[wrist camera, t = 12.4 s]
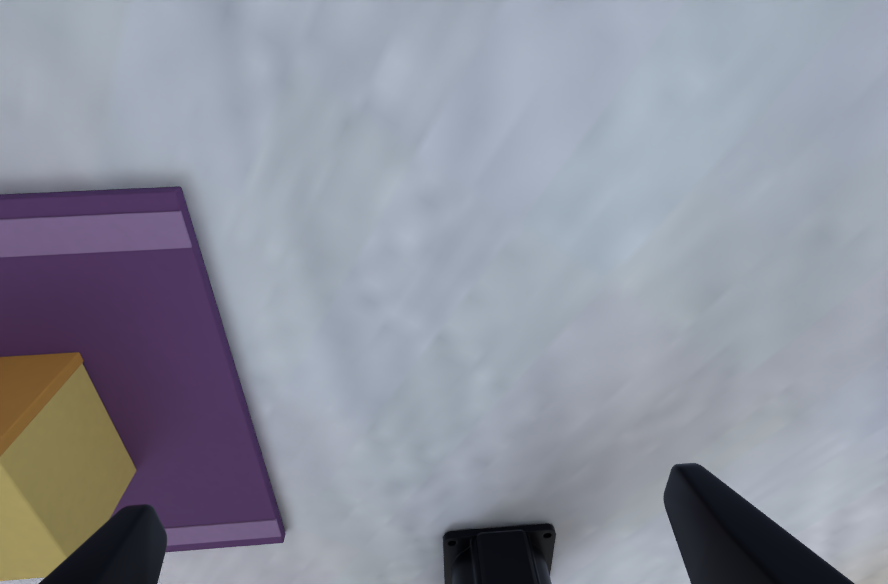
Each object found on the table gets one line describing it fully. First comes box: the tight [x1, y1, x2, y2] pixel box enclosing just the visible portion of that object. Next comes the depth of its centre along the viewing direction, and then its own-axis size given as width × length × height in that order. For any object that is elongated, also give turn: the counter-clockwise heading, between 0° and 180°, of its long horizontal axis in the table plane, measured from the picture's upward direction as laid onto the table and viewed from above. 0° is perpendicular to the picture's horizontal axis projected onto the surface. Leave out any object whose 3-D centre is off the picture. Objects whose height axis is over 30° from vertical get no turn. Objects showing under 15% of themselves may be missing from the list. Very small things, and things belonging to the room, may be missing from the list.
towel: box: [0, 187, 285, 552], centre depth 22 cm, size 20×16×1 cm
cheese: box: [0, 352, 136, 581], centre depth 19 cm, size 7×5×5 cm, turn 1°
